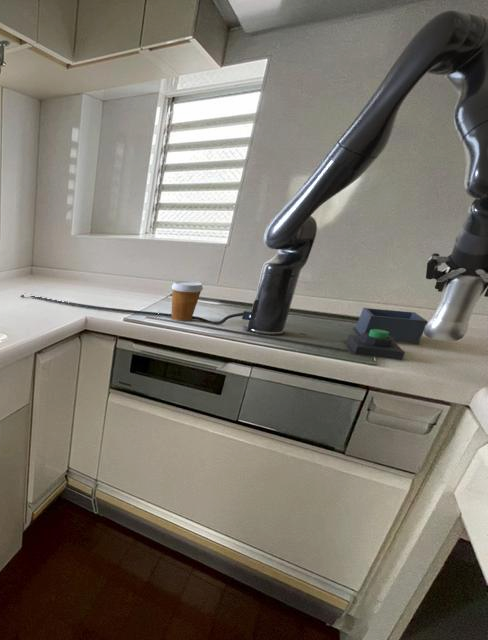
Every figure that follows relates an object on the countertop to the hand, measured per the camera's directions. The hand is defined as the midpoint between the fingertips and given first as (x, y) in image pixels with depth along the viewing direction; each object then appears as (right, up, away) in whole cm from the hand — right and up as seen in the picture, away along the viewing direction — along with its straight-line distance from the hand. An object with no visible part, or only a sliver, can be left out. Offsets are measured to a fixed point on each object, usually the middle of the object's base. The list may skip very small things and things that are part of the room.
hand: (463, 291), depth 91 cm
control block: (-7, -13, +15) cm, 21 cm away
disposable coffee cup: (-42, 0, +46) cm, 63 cm away
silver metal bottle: (-1, -11, +4) cm, 12 cm away
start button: (-7, -9, +13) cm, 18 cm away
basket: (+8, -8, +27) cm, 29 cm away
